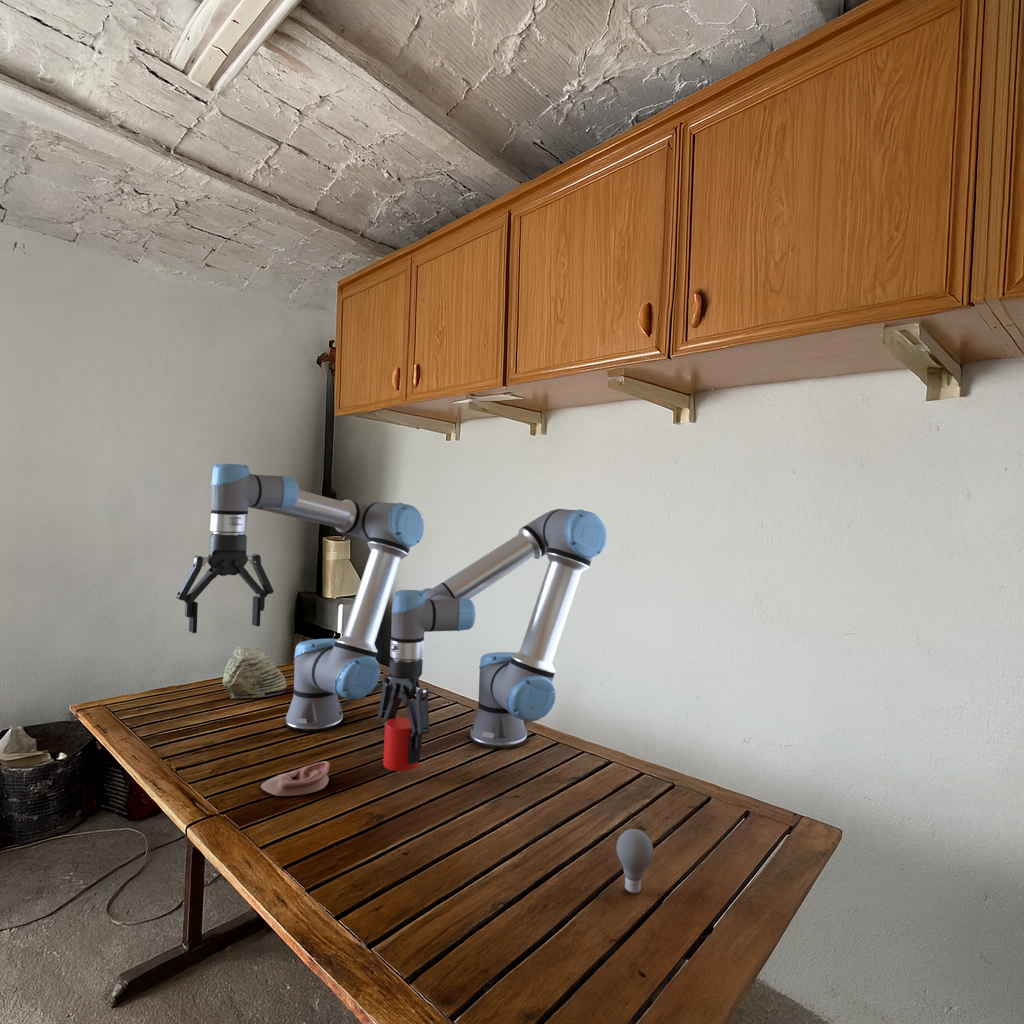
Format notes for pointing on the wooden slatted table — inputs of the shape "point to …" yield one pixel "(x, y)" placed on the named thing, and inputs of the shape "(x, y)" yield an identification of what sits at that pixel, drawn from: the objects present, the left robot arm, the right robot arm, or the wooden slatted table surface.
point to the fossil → (252, 674)
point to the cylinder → (397, 744)
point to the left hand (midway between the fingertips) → (225, 628)
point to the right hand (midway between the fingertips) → (401, 756)
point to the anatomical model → (299, 780)
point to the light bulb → (634, 857)
